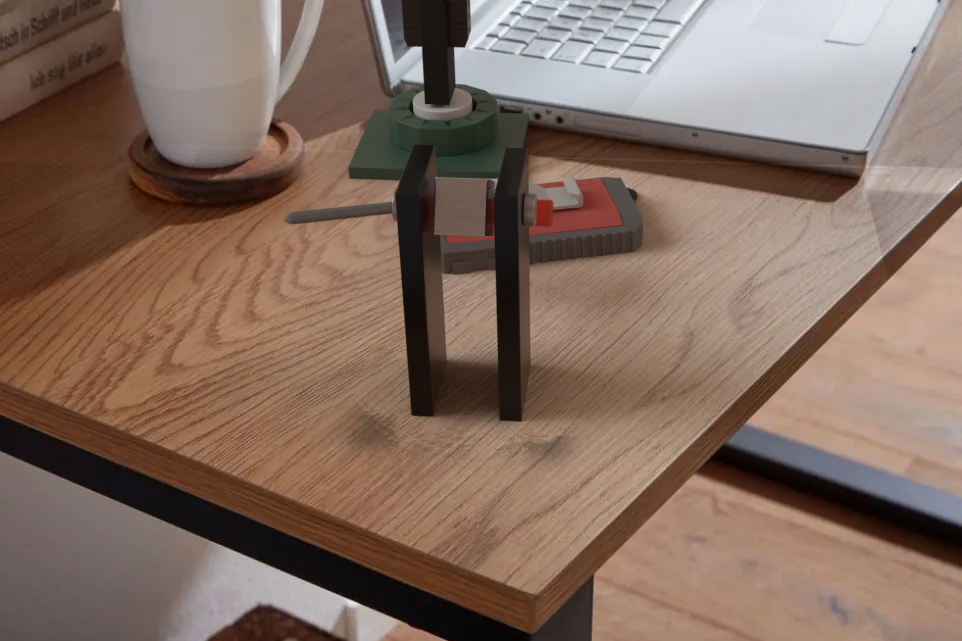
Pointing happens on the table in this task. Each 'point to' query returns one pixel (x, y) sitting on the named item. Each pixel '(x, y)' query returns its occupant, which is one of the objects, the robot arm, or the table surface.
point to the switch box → (438, 139)
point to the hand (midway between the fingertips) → (440, 94)
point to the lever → (473, 207)
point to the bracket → (426, 285)
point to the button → (443, 107)
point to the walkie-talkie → (575, 231)
